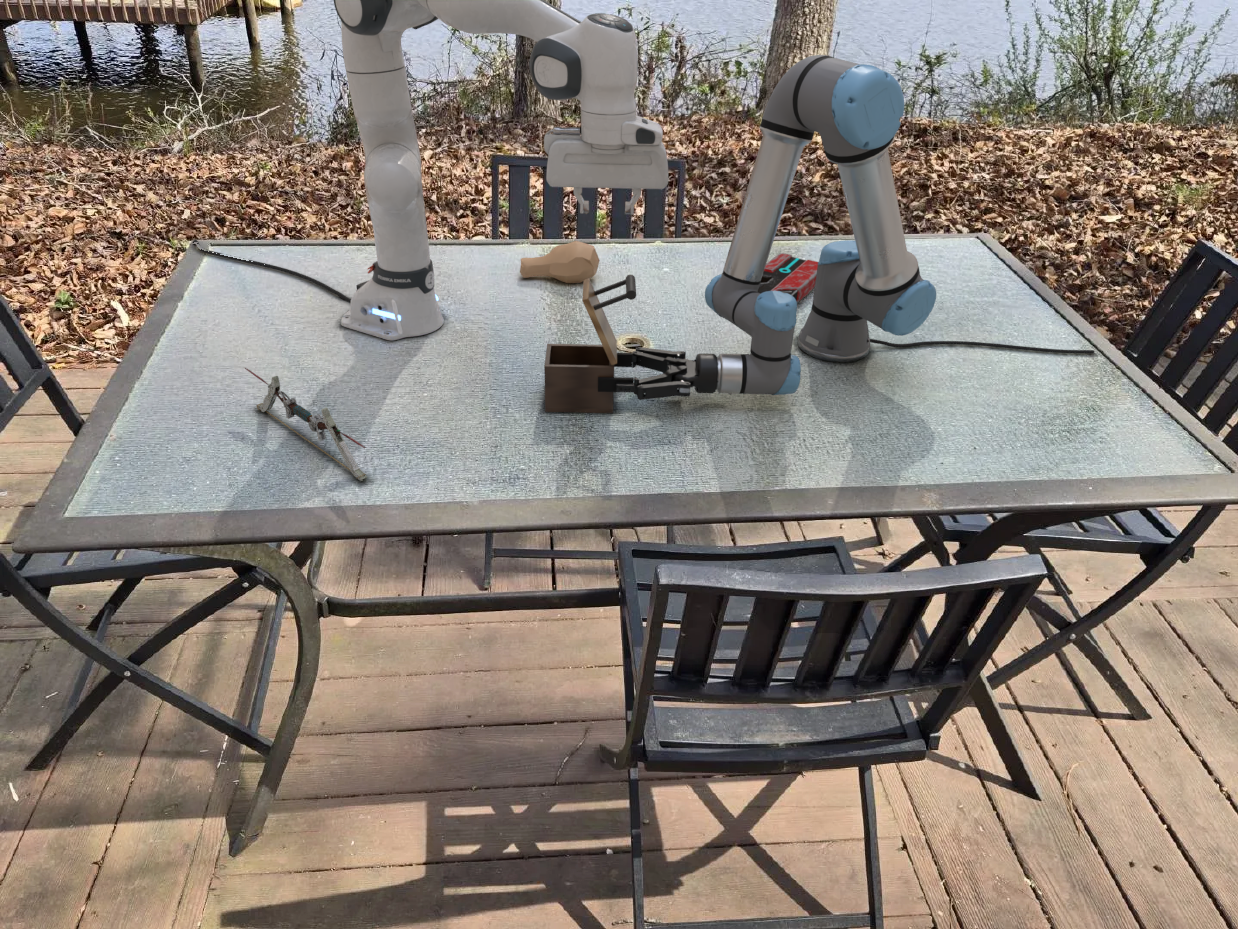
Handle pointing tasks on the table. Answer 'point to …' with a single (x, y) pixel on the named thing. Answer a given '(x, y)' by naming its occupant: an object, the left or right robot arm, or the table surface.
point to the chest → (576, 378)
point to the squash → (564, 263)
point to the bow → (311, 423)
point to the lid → (599, 316)
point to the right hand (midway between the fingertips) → (598, 371)
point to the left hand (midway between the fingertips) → (606, 213)
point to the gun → (789, 276)
